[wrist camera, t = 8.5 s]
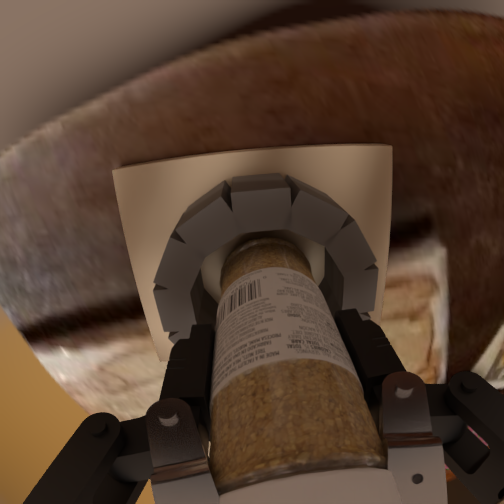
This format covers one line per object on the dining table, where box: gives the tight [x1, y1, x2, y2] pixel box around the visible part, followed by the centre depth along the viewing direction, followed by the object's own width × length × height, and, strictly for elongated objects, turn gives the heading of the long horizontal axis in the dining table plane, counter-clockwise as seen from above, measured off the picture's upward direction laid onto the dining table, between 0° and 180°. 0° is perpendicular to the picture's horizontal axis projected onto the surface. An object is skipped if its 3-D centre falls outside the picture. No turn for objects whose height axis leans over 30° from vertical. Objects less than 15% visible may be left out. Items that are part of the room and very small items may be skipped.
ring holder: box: [112, 144, 392, 361], centre depth 16 cm, size 14×12×5 cm
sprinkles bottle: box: [209, 237, 402, 504], centre depth 10 cm, size 5×5×13 cm
